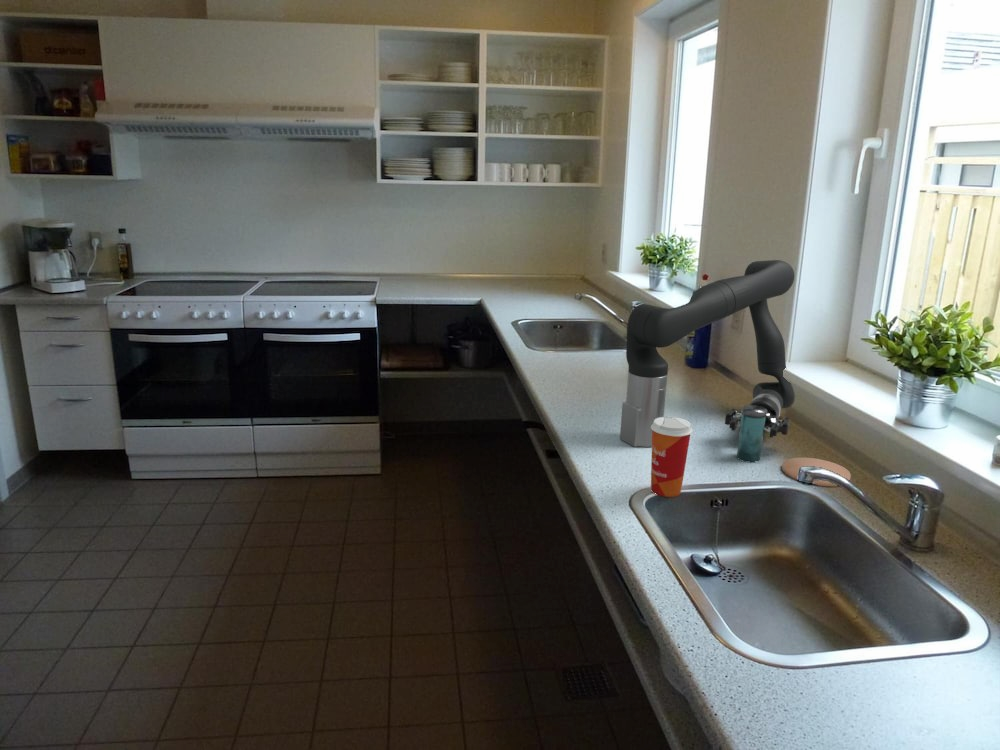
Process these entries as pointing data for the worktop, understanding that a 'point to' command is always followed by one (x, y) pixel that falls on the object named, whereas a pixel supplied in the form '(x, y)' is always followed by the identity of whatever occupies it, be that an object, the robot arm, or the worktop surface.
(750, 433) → the canister
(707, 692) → the worktop surface
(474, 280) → the worktop surface
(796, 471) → the dish
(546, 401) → the worktop surface
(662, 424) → the coffee cup
